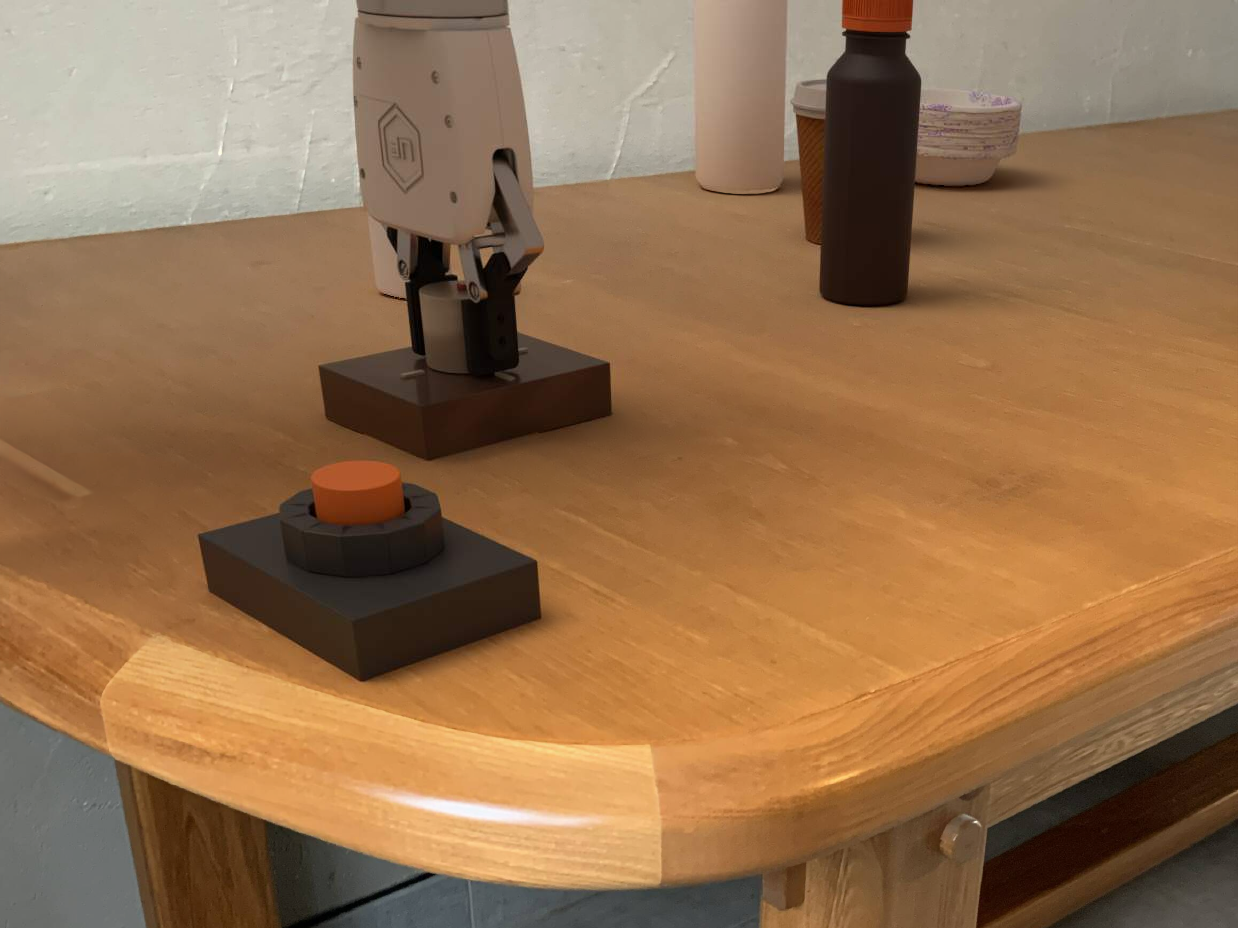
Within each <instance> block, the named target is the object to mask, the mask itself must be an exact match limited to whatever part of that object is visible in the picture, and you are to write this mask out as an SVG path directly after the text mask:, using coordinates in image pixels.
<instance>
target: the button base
mask: <svg viewBox="0 0 1238 928" xmlns="http://www.w3.org/2000/svg"><path fill="white" fill-rule="evenodd" d="M402 489H403V498H404V506H405V514H403V515H402V516H401V517H398V518H395V519H391V520H388V521H384V522H381V523H372V524H358V525H341V524H333V523H325V522H323V521H321V520H319V519H317V516H316V509H315V503H314V496H313V490H312V487H311V488H307V489H304V490H301V491H298V492H297V493H294V495H292V496H290V497H289V498H287V499H286V500H284V501H283V502H282V503H280V504H279V506H278V510H279V511H278V512H276V513H273V514H269V515H265V516H262V517H258V518H254V519H250V520H247V521H243V522H239V523H234V524H231V525H228V526H223V527H220V528H216V529H213V530H209V531H204V532H201V533H198V534H197V538H198V545H199V550H200V554H201V559H202V565H203V570H204V573H205V579H206V584H207V589H208V592H209V593H211V594H212V595H214V596H216V597H217V598H219V599H220V600H223V601H224V602H226V603H227V604H228V605H230V606H232V607H234V608H236V609H238V610H239V611H241V612H243V613H244V614H246V615H248V616H249V617H251V618H253V619H254V620H256V621H258V622H260V623H261V624H263V625H264V626H266V627H268V628H270V629H271V630H273V631H274V632H276V633H278V634H279V635H281V636H283V637H284V638H286V639H288V640H289V641H291V642H293V643H295V644H297V645H298V646H300V647H302V649H305V650H306V651H308V652H309V653H312V654H313V655H315V656H317V657H319V659H322V660H323V661H325V662H327V663H328V664H330V665H332V666H333V667H335V668H337V669H339V670H340V671H341V672H344V673H345V674H347V675H349V677H352V678H354V680H355V679H356V680H357V681H359V682H361V683H362V682H365V681H368V680H371V679H374V678H377V677H380V676H382V675H386V674H388V673H391V672H393V671H397V670H400V669H402V668H405V667H407V666H411V665H413V664H417V663H419V662H422V661H425V660H427V659H430V658H433V657H436V656H439V655H441V654H444V653H445V654H446V653H447V652H451V651H453V650H455V649H459V648H461V647H464V646H467V645H471V644H473V643H475V642H478V641H481V640H485V639H487V638H491V637H492V636H495V635H498V634H501V633H503V632H507V631H510V630H513V629H516V628H517V627H521V626H524V625H526V624H529V623H533V622H535V621H538V620H541V619H542V607H541V595H540V578H539V567H538V560H536V559H534V558H532V557H531V556H528V555H526V554H524V553H521V552H520V551H517V550H515V549H513V548H511V547H508V546H507V545H504V544H502V543H500V542H498V541H496V540H493V539H492V538H489V537H487V536H485V535H482V534H480V533H478V532H476V531H474V530H472V529H470V528H467V527H465V526H463V525H461V524H458V523H457V522H454V521H453V520H450V519H448V518H445V517H444V516H443V515H442V507H441V504H440V499H439V496H438V495H437V493H435V492H433V491H432V490H429V489H427V488H424V487H421V486H420V485H418V484H415V483H411V482H402Z"/></svg>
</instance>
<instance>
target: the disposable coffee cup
mask: <svg viewBox="0 0 1238 928" xmlns="http://www.w3.org/2000/svg"><path fill="white" fill-rule="evenodd" d="M826 81H827V78H822V79H821V78H819V79H817V78H816V79H815V78H814V79H808V80H801V81H798V82H796V85H795V89H794V93H793V97H792V98H791V99H789V101H790V104H791V105H792V110H793V111H792V112H793V113H794V114H795V122H796V136H797V146H798V158H799V170H800V171H799V172H800V184H801V195H802V208H803V216H804V217H803V218H804V219H803V220H804V232H805V238H806V240H807V241H810V242H812V243H815V244H820V245H821V224H822V196H823V167H824V138H825V109H826Z"/></svg>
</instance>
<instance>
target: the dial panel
mask: <svg viewBox="0 0 1238 928" xmlns="http://www.w3.org/2000/svg"><path fill="white" fill-rule="evenodd" d="M517 336H518V350H519V364H518V366H517V367H516V368H513V369H508V370H504V371H500V372H495V373H491V374H486V375H482V376H476V375H473V374H470V373H469V374H458V373H447V372H441V371H437V370H434V369H432V368H430V367H429V366H428V365H427V362H426V355H425V356H421V355H418V354H416V353H414V352H413V350H412V346H409V347H408V346H407V347H403V348H397V349H393V350H388V351H383V352H377V353H373V354H368V355H364V356H358V357H357V356H356V357H352V358H349V359H348V358H347V359H343V360H338V361H333V362H328V363H323V364H319V365H318V373H319V381H320V388H321V394H322V401H323V408H324V416H325V418H326V419H327V420H330V421H332V422H334V423H335V424H338V425H341V426H343V427H345V428H347V429H350V430H352V431H355V432H357V433H360V434H361V435H365V436H368V437H370V438H372V439H375V440H377V441H379V442H382V443H384V444H386V445H389V446H391V447H393V448H395V449H398V450H400V451H403V452H405V453H407V454H410V455H411V456H414V457H416V458H419V459H421V460H423V461H426V462H430V461H433V460H437V459H441V458H445V457H448V456H452V455H457V454H460V453H464V452H468V451H472V450H476V449H480V448H483V447H487V446H491V445H495V444H498V443H502V442H506V441H510V440H515V439H518V438H522V437H526V436H530V435H534V434H538V433H539V434H540V433H543V432H548V431H552V430H555V429H561V428H564V427H567V426H571V425H575V424H579V423H582V422H586V421H589V420H590V421H591V420H594V419H598V418H602V417H606V416H610V415H612V414H613V410H612V409H613V406H612V405H613V404H612V381H611V379H612V378H611V377H612V376H611V362H609V361H606V360H604V359H600V358H597V357H594V356H591V355H588V354H585V353H582V352H579V351H576V350H573V349H570V348H567V347H564V346H561V345H558V344H555V343H552V342H549V341H546V340H542V339H540V338H536V337H534V336H530V335H528V334H525V333H521V332H518V331H517Z"/></svg>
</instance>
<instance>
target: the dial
mask: <svg viewBox="0 0 1238 928" xmlns="http://www.w3.org/2000/svg"><path fill="white" fill-rule="evenodd" d="M419 297H420V306H421V315H422V325H423V334H424V344H425V353H426V362H427V365H428V366H429V367H430V368H432V369H434V370H437V371H441V372H447V373H458V374H469V372H468V369H467V362H466V351H465V341H464V330H463V319H462V308H461V300H466V299H470V297H469V295H468V292H467V287H466V283H465V280H458V281H444V282H437V283H432V284H428V285H425V286H423V287H421V288H420V289H419Z"/></svg>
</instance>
